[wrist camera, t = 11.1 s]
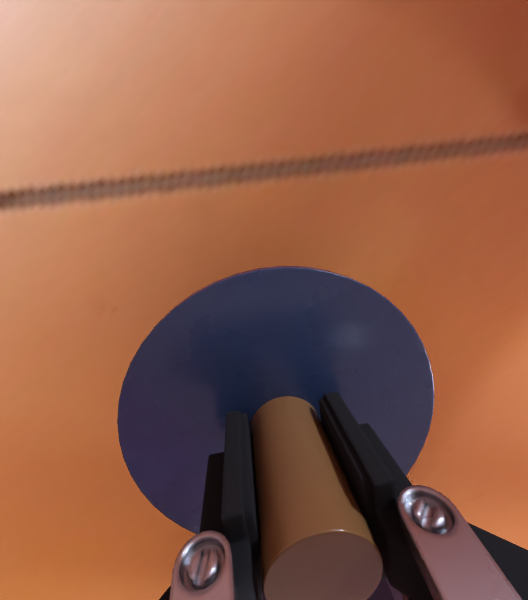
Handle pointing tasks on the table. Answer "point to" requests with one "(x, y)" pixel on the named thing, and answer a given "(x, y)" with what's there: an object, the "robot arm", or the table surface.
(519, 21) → the table surface
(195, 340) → the lid
